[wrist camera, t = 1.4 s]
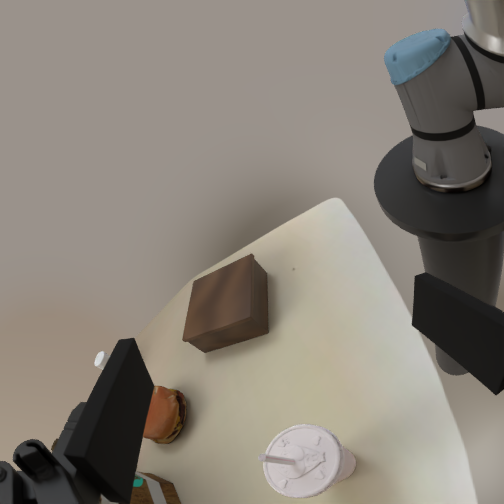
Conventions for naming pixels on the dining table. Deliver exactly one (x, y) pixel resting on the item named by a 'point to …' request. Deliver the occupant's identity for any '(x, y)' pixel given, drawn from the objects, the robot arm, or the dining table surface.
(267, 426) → the dining table surface
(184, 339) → the walnut box
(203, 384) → the dining table surface
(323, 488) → the smoothie
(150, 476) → the mug
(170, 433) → the burger
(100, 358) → the pill bottle
